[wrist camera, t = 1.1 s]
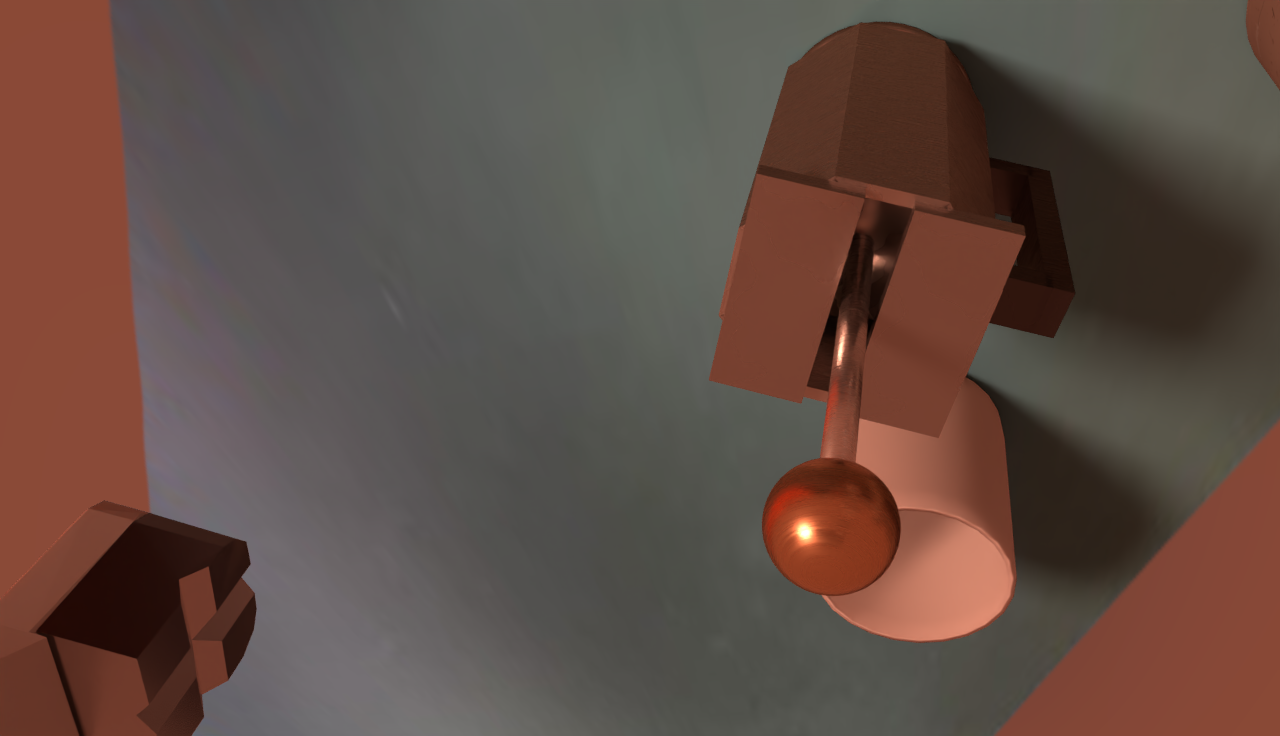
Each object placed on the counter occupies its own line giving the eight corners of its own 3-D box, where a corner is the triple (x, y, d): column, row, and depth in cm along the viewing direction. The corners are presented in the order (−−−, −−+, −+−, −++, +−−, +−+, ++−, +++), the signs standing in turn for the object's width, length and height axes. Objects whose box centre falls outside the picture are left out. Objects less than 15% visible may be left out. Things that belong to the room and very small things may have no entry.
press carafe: (804, 2, 46) (751, 166, 33) (1071, 60, 45) (1132, 254, 32) (761, 180, 52) (702, 383, 38) (999, 235, 51) (1024, 464, 37)
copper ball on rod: (795, 135, 38) (717, 443, 24) (980, 178, 37) (1010, 518, 23) (757, 288, 42) (671, 625, 28) (922, 329, 41) (918, 692, 27)
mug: (1036, 396, 56) (1056, 552, 47) (933, 535, 63) (933, 692, 54) (873, 333, 56) (862, 476, 47) (789, 479, 63) (765, 628, 54)
